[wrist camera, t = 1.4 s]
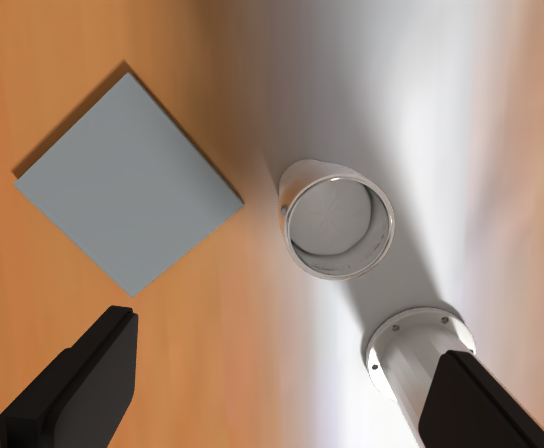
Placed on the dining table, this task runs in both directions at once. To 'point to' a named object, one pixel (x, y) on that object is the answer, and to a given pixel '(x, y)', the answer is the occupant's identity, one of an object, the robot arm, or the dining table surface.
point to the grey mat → (129, 187)
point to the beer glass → (333, 219)
